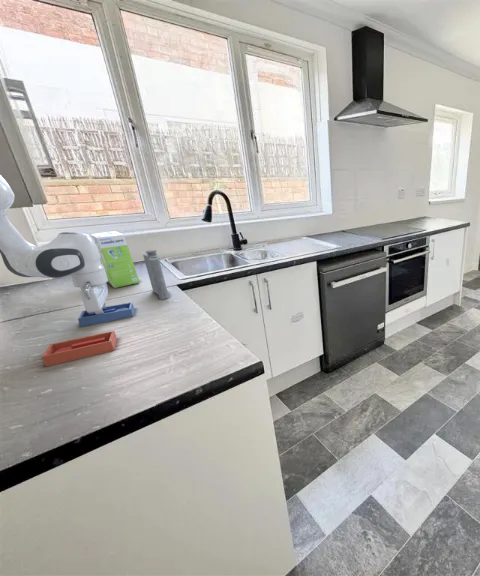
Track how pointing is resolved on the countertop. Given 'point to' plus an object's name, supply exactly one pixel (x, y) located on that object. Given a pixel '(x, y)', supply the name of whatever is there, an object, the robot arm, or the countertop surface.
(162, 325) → the countertop surface
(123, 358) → the countertop surface
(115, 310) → the blue spoon
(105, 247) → the cleaning wipes box
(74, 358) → the red tray
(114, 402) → the countertop surface
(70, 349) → the red spoon
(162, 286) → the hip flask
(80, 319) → the blue tray
